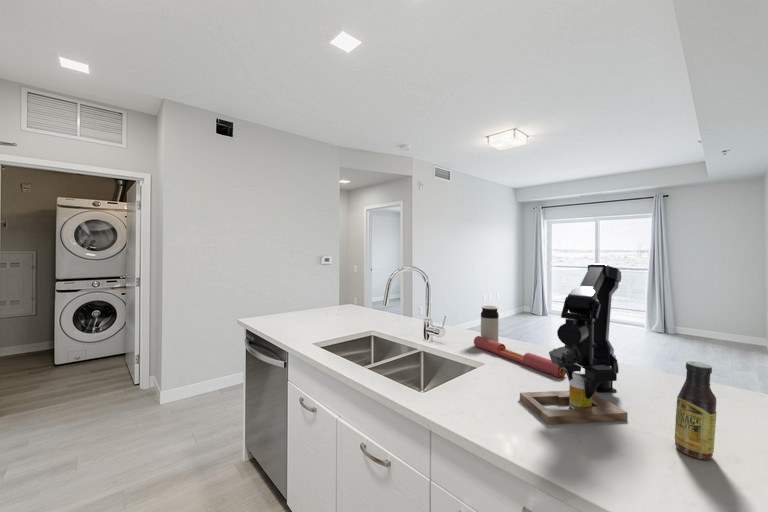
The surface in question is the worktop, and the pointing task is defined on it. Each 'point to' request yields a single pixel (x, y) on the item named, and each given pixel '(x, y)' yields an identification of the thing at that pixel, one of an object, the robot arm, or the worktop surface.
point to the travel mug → (489, 323)
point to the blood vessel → (521, 357)
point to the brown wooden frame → (596, 413)
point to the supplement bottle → (578, 392)
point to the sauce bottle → (696, 413)
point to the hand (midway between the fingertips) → (580, 393)
